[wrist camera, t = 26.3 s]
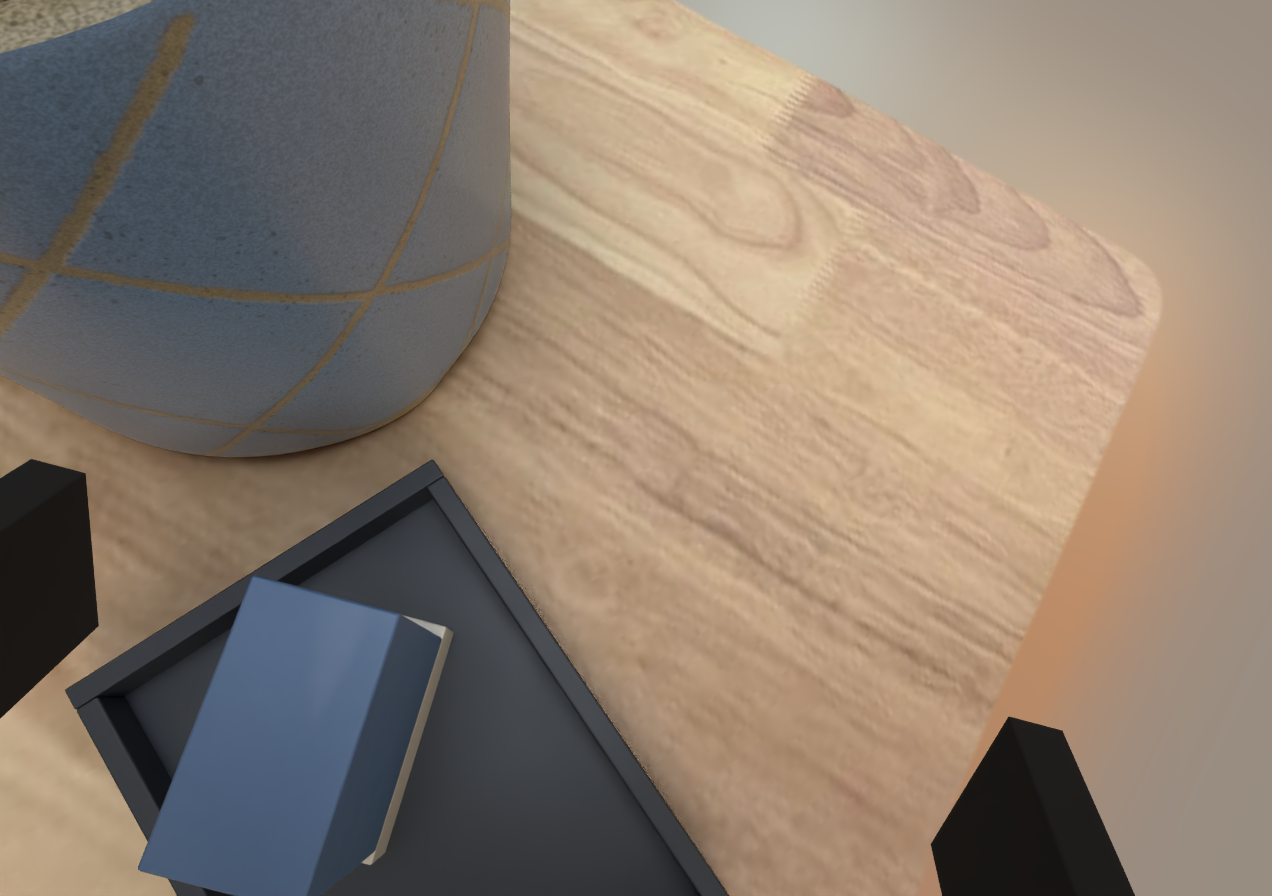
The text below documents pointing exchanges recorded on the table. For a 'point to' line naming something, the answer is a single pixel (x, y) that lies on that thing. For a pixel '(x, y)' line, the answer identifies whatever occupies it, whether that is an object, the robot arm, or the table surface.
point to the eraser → (298, 745)
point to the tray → (430, 720)
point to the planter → (249, 210)
